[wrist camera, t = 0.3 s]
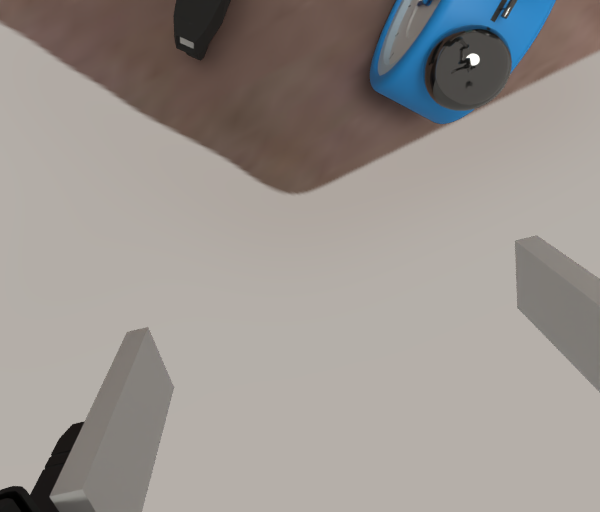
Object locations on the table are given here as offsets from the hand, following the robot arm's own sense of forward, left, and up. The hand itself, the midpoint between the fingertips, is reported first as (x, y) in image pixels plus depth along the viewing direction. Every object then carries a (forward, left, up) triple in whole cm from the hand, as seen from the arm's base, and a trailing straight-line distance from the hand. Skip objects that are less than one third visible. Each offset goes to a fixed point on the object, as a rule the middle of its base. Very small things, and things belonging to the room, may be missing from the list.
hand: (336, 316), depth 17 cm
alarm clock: (-8, +13, -28) cm, 32 cm away
